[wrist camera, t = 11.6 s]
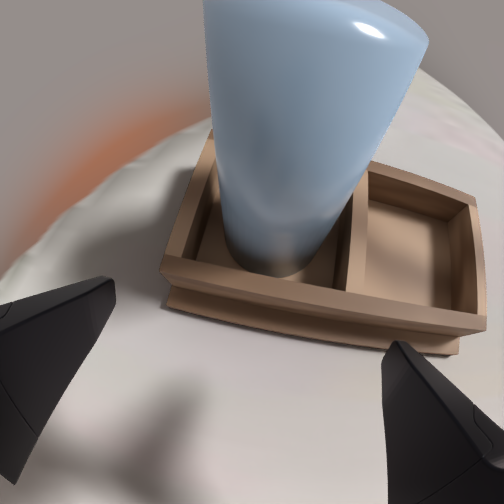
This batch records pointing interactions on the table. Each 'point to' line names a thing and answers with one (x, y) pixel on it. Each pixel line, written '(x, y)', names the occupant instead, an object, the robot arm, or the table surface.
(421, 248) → the wooden divided tray
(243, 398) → the table surface
